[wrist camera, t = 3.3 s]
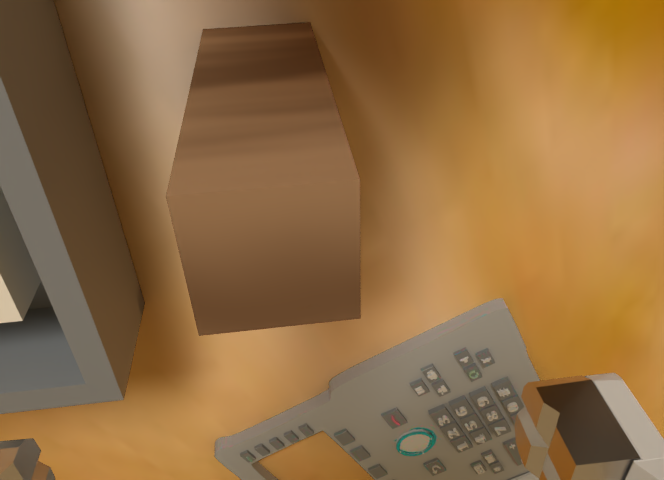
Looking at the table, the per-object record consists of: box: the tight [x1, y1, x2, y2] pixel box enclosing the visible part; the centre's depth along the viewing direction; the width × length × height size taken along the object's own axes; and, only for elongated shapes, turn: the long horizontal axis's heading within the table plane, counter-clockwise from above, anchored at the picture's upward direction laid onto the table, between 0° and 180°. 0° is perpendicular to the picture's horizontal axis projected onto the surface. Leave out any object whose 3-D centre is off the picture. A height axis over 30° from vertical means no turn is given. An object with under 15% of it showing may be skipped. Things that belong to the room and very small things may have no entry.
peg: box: [166, 22, 361, 336], centre depth 18 cm, size 4×4×12 cm
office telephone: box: [215, 298, 540, 480], centre depth 39 cm, size 23×3×20 cm
